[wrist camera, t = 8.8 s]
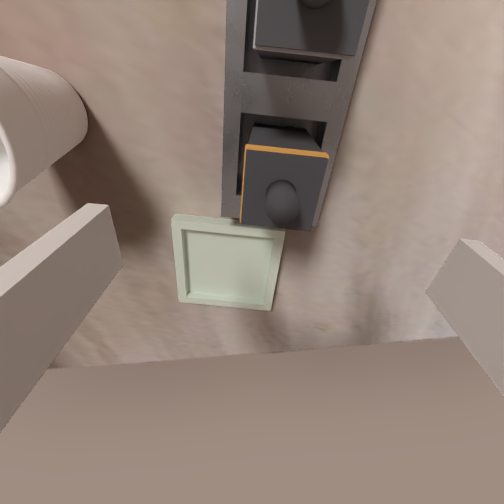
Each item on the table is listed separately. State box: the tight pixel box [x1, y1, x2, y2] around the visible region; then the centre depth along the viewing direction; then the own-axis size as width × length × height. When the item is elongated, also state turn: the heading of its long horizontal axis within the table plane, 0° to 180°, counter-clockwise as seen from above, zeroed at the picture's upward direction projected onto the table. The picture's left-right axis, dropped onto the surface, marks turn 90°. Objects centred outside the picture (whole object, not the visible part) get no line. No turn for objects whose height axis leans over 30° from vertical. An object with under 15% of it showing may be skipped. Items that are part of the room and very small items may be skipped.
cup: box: [0, 56, 88, 209], centre depth 18 cm, size 10×10×11 cm
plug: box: [240, 123, 329, 231], centre depth 19 cm, size 5×5×12 cm
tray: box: [171, 213, 286, 311], centre depth 31 cm, size 12×12×2 cm
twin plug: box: [253, 0, 369, 64], centre depth 13 cm, size 5×5×12 cm
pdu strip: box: [221, 0, 377, 226], centre depth 20 cm, size 9×20×4 cm, turn 175°
